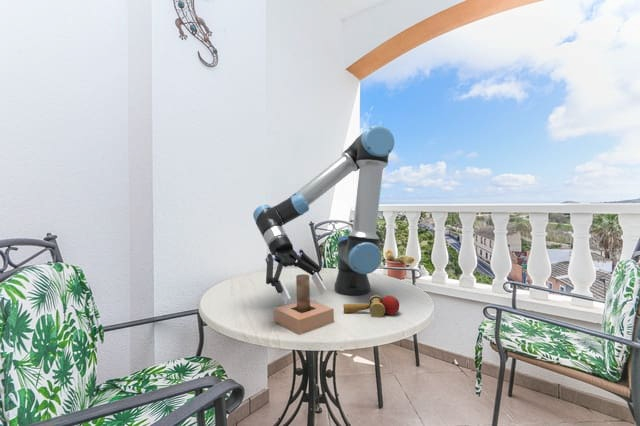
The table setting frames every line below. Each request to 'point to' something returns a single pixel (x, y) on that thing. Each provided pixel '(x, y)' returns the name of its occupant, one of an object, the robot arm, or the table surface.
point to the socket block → (303, 317)
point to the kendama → (376, 306)
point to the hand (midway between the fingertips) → (306, 296)
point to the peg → (303, 293)
